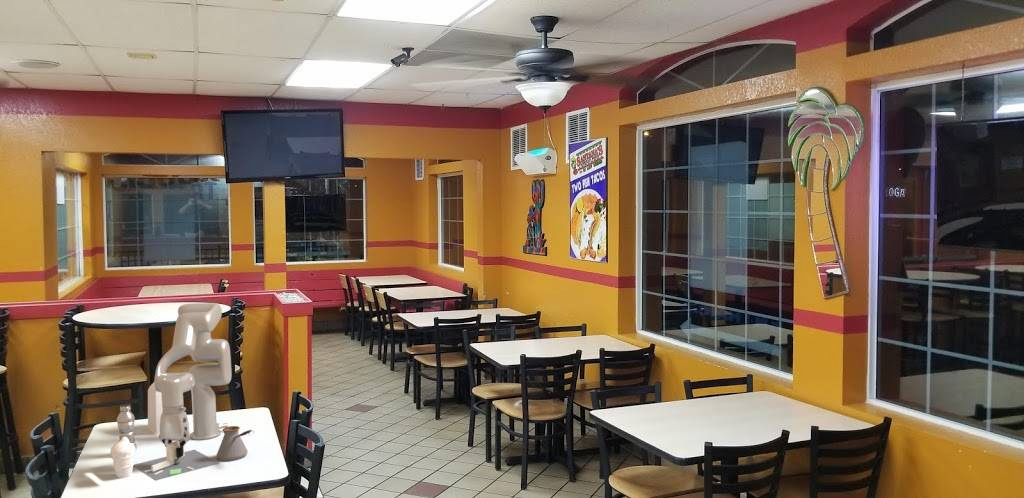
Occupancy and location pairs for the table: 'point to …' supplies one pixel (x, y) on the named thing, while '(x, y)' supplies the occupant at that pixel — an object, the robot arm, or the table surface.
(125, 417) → the plastic bottle
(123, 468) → the soft serve ice cream cone
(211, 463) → the plate
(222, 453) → the coffee pot
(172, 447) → the peg head
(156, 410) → the milk
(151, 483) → the table surface
